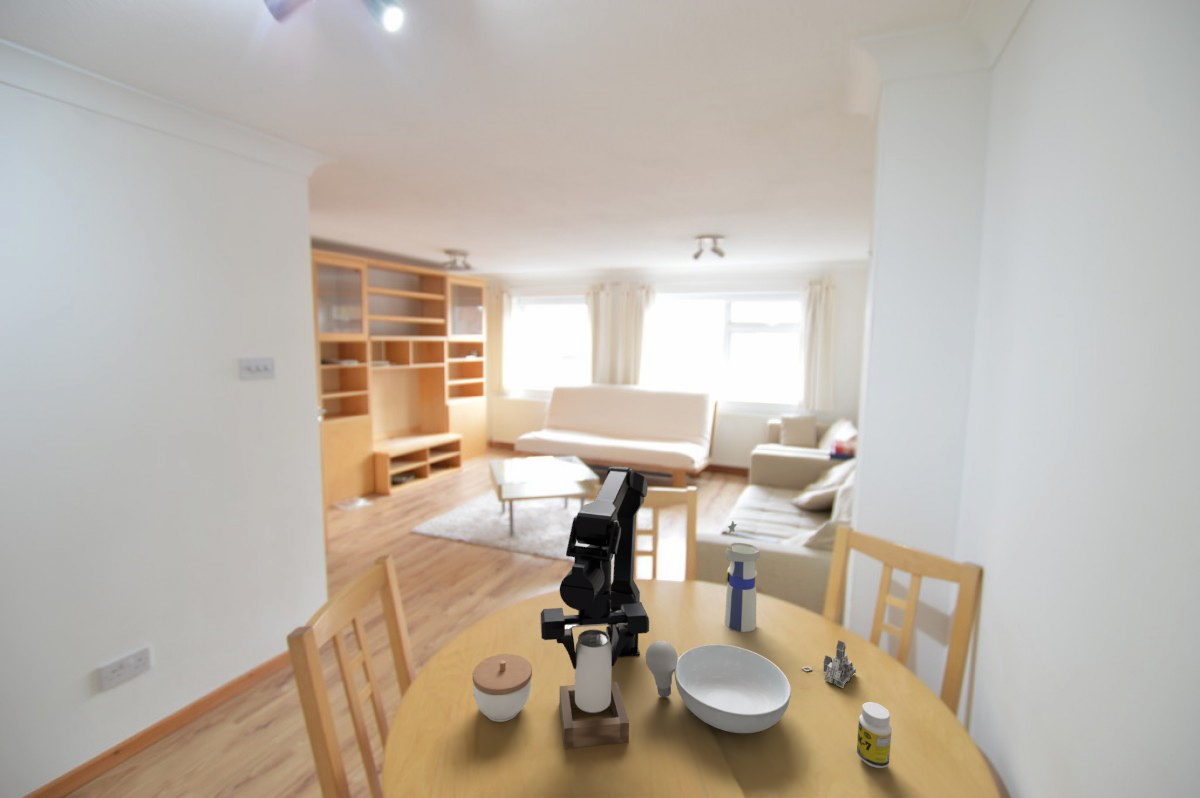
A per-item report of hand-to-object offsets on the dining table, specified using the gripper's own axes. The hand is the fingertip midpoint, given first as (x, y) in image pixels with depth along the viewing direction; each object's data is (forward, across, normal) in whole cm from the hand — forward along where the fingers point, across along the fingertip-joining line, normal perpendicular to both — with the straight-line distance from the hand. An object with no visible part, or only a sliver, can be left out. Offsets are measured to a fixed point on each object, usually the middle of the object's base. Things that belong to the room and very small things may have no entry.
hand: (593, 666), depth 90 cm
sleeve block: (+10, 0, 0) cm, 10 cm away
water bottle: (+11, -41, -29) cm, 51 cm away
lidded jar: (+11, +16, -5) cm, 20 cm away
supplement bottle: (+11, -45, +14) cm, 48 cm away
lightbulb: (+10, -15, -5) cm, 19 cm away
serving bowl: (+11, -26, 0) cm, 28 cm away
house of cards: (+11, -52, -9) cm, 54 cm away
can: (+7, 0, 0) cm, 7 cm away
